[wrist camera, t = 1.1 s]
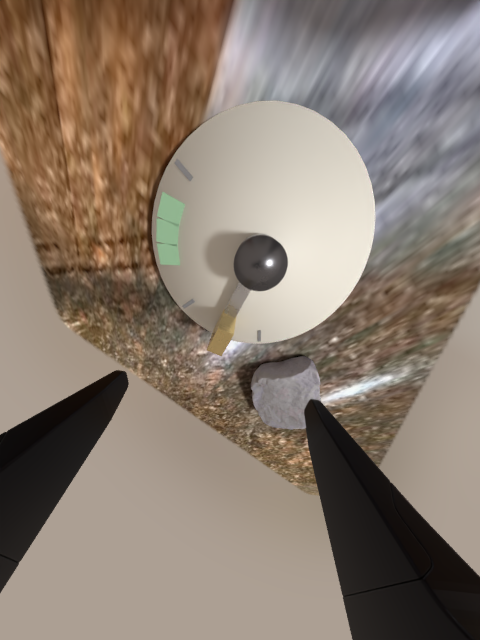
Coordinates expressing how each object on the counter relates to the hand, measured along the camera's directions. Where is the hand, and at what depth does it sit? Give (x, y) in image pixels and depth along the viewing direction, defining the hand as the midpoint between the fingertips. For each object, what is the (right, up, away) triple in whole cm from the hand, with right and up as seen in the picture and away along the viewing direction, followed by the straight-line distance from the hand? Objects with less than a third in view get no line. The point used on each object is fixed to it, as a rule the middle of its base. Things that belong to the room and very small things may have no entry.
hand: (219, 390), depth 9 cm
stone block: (+8, -7, +20) cm, 22 cm away
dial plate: (+3, +10, +10) cm, 14 cm away
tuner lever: (+1, +6, +10) cm, 12 cm away
